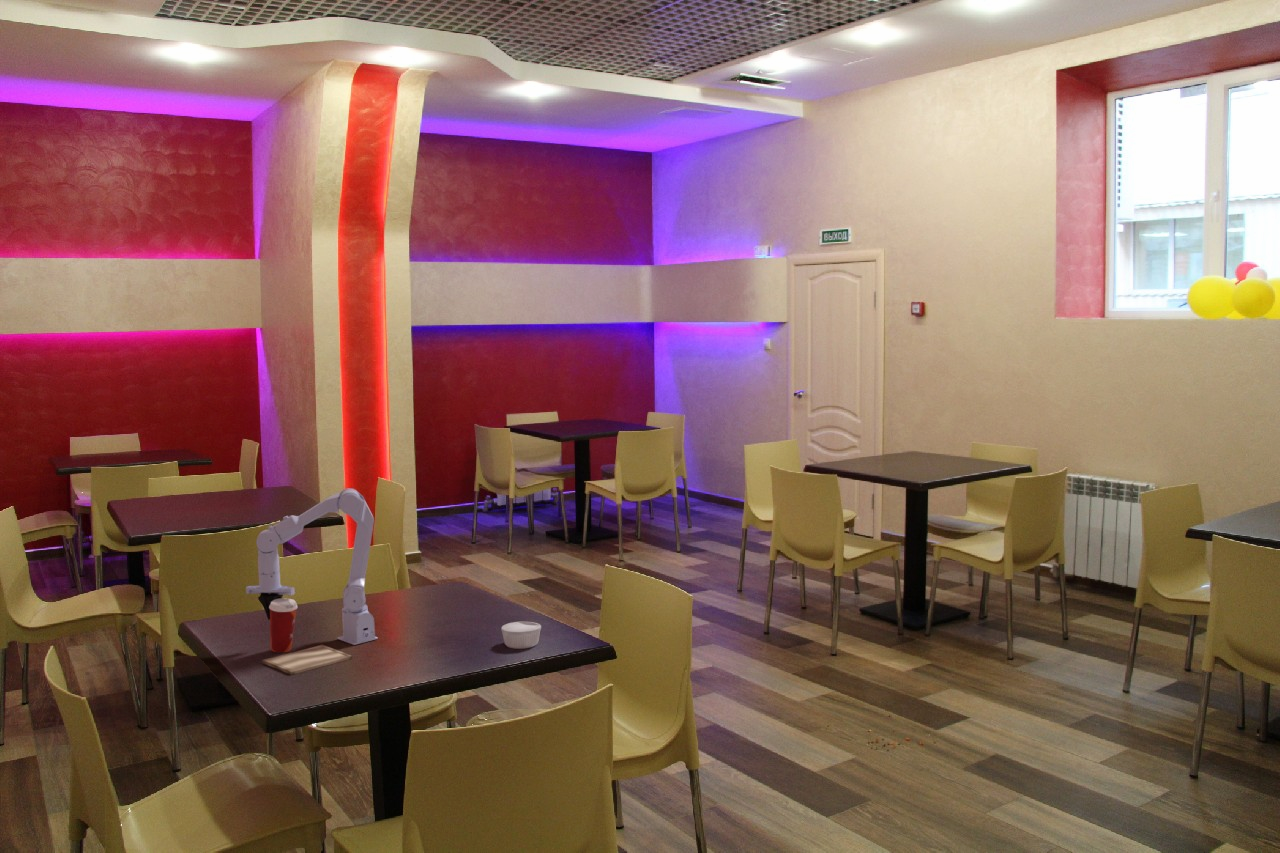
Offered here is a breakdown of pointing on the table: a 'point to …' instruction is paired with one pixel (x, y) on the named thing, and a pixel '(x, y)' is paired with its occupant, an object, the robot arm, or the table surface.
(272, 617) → the paper cup
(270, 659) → the birch board
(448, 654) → the table surface
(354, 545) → the robot arm
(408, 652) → the table surface
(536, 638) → the ramekin
